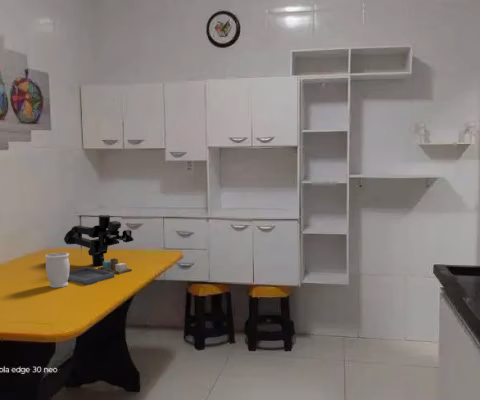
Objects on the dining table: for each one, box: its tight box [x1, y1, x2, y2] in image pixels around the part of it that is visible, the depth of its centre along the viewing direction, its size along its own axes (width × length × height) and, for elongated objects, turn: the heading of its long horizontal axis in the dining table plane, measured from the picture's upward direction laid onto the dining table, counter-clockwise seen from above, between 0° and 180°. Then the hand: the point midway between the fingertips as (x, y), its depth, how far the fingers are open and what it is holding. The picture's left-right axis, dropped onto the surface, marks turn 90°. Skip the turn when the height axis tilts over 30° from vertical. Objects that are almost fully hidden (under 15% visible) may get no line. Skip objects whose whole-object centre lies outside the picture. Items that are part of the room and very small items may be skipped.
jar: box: [44, 252, 71, 289], centre depth 234 cm, size 11×10×15 cm
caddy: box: [97, 258, 133, 275], centre depth 261 cm, size 18×8×7 cm, turn 52°
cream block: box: [115, 262, 128, 272], centre depth 258 cm, size 4×4×4 cm
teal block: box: [102, 260, 111, 270], centre depth 264 cm, size 4×4×4 cm
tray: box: [67, 266, 115, 286], centre depth 248 cm, size 23×16×2 cm
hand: (126, 241), depth 257 cm, fingers open, 9 cm apart
